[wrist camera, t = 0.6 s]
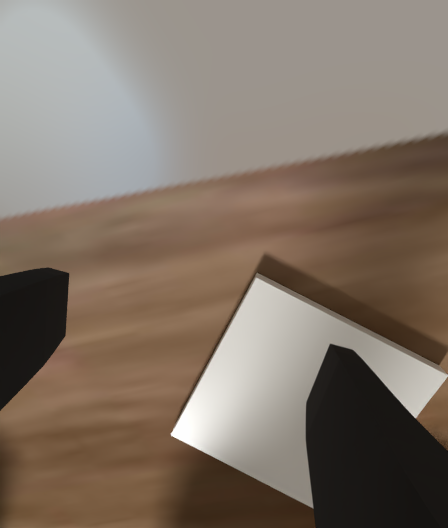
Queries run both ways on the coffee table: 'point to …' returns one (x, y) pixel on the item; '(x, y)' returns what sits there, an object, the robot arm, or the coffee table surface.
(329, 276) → the coffee table surface
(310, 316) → the base plate
